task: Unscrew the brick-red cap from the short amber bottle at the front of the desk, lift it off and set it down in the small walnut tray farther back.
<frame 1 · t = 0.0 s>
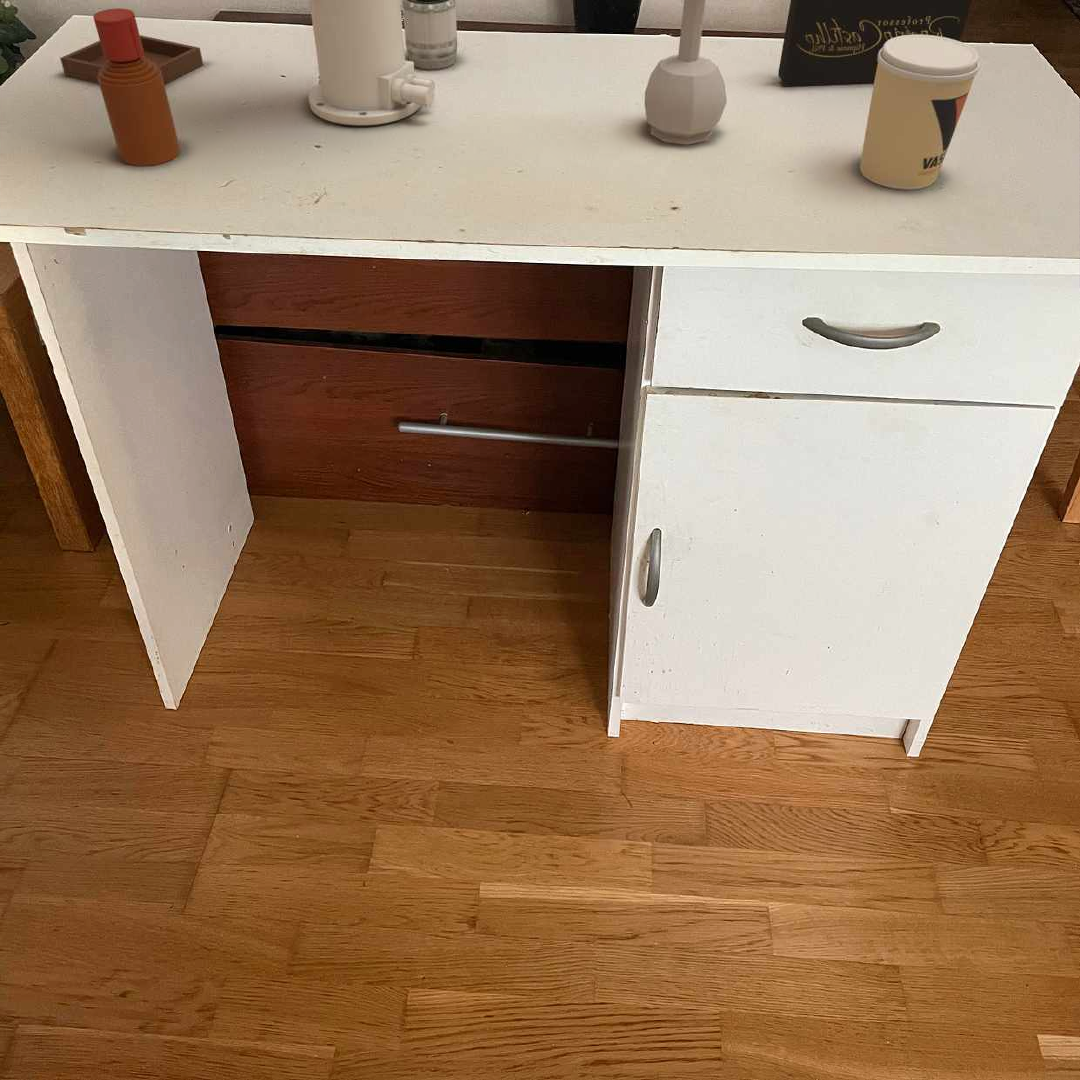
coffee cup: (897, 174, 104), on the table
bottle: (150, 153, 105), on the table
potion bottle: (679, 132, 111), on the table
cap: (114, 18, 96), point 13 cm above the table, screwed on, not yet turned
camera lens: (432, 62, 125), on the table
nameplate: (862, 82, 122), on the table
tray: (135, 70, 121), on the table
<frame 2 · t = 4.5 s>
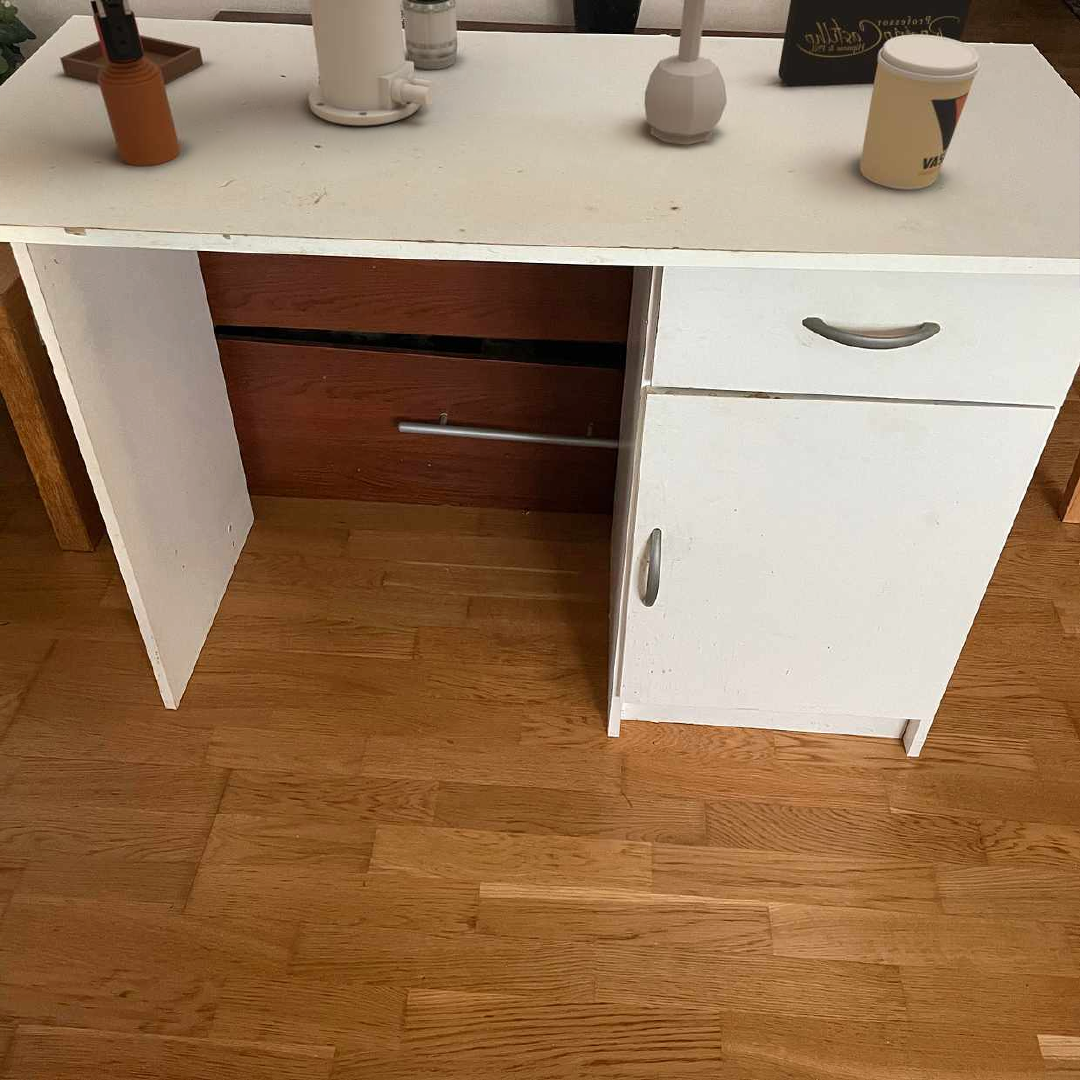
hand: (122, 49, 98), 10 cm above the table, tool pointing down, fingers closed on cap, 3 cm apart
cap: (114, 18, 96), point 13 cm above the table, screwed on, not yet turned, touching gripper
everything else where it was.
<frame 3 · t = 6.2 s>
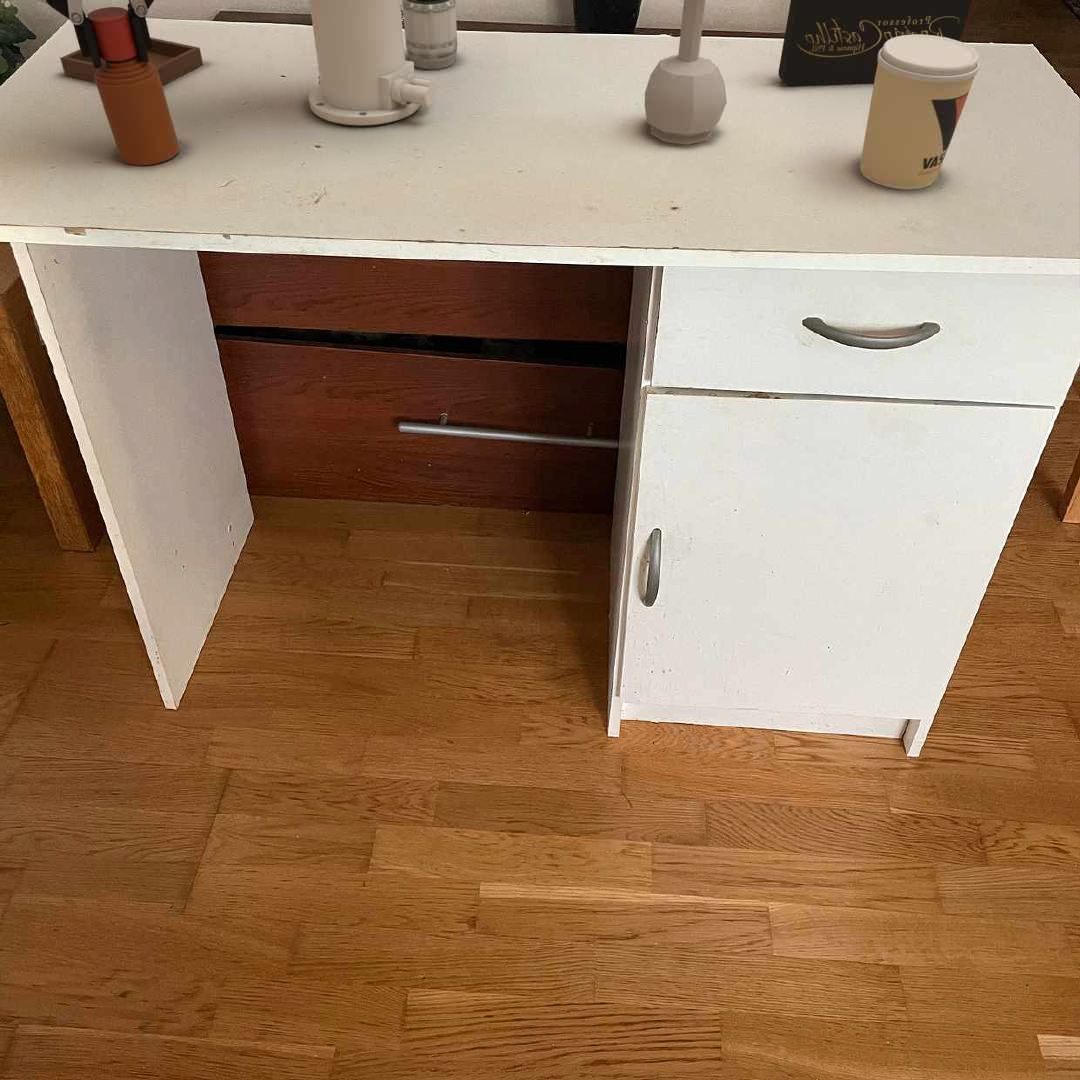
hand: (119, 58, 98), 10 cm above the table, tool pointing down, fingers closed on cap, 3 cm apart
bottle: (150, 152, 105), on the table, touching gripper
cap: (108, 17, 96), point 13 cm above the table, turned 92° so far, risen 0.1 cm, still on its thread, touching gripper
everything else where it was.
when the fingers open (10 cm above the table, at t = 11.9 s): cap stays where it is, point 13 cm above the table.
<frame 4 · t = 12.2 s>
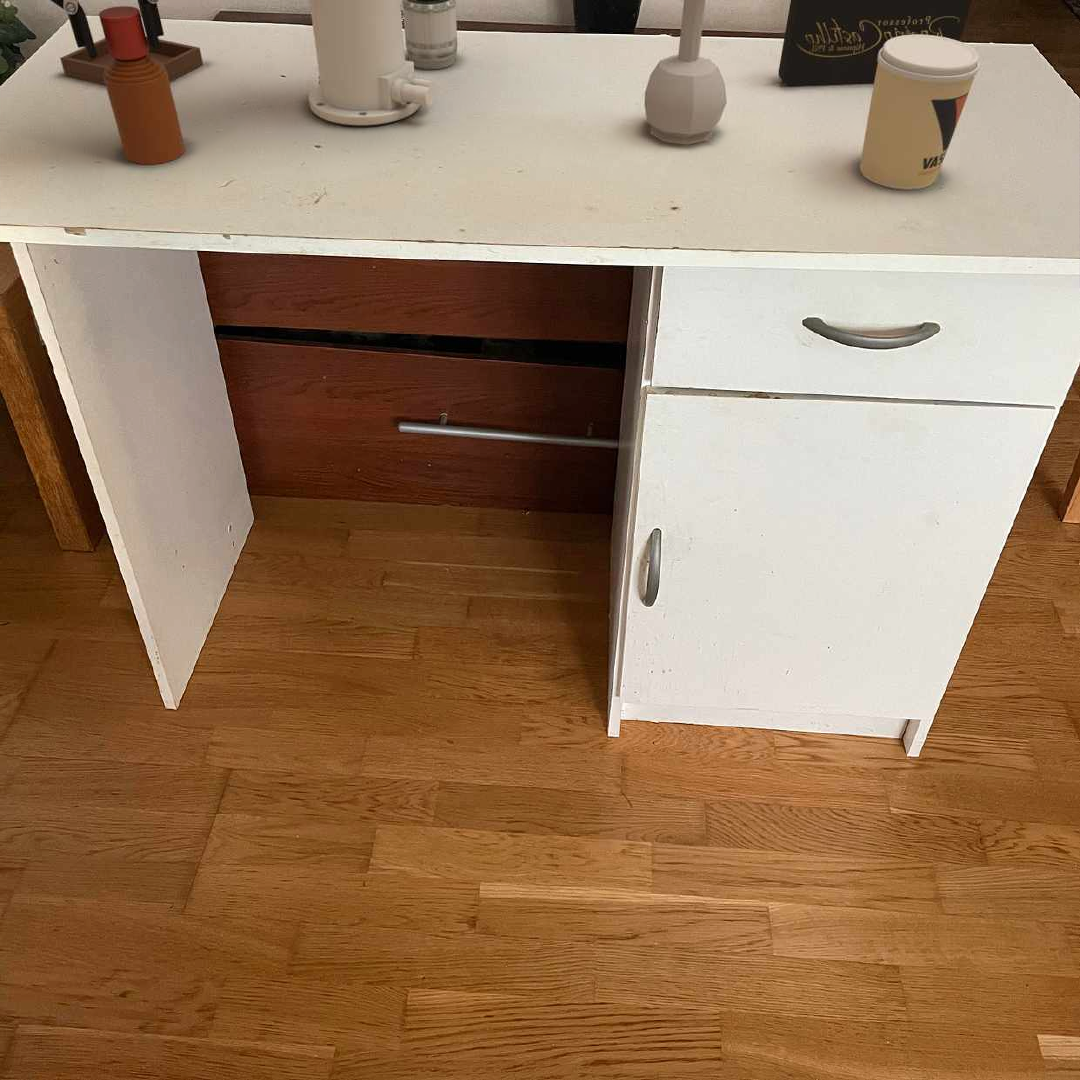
hand: (122, 47, 98), 10 cm above the table, tool pointing down, fingers open, 5 cm apart
bottle: (155, 151, 105), on the table
cap: (120, 15, 96), point 13 cm above the table, turned 92° so far, risen 0.1 cm, still on its thread
everything else where it was.
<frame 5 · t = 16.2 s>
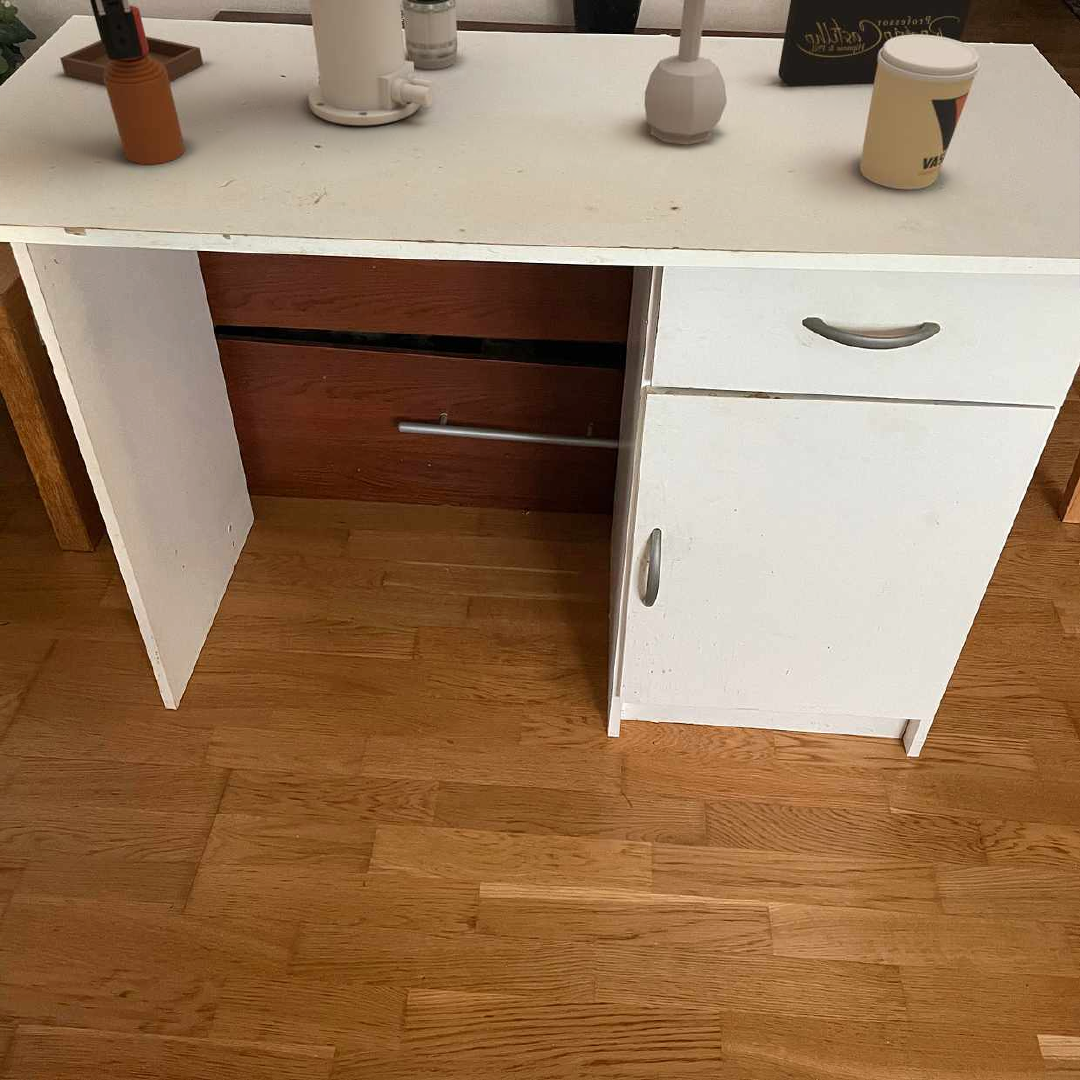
hand: (122, 47, 98), 10 cm above the table, tool pointing down, fingers closed on cap, 3 cm apart
cap: (119, 15, 96), point 13 cm above the table, turned 185° so far, risen 0.2 cm, still on its thread, touching gripper
everything else where it was.
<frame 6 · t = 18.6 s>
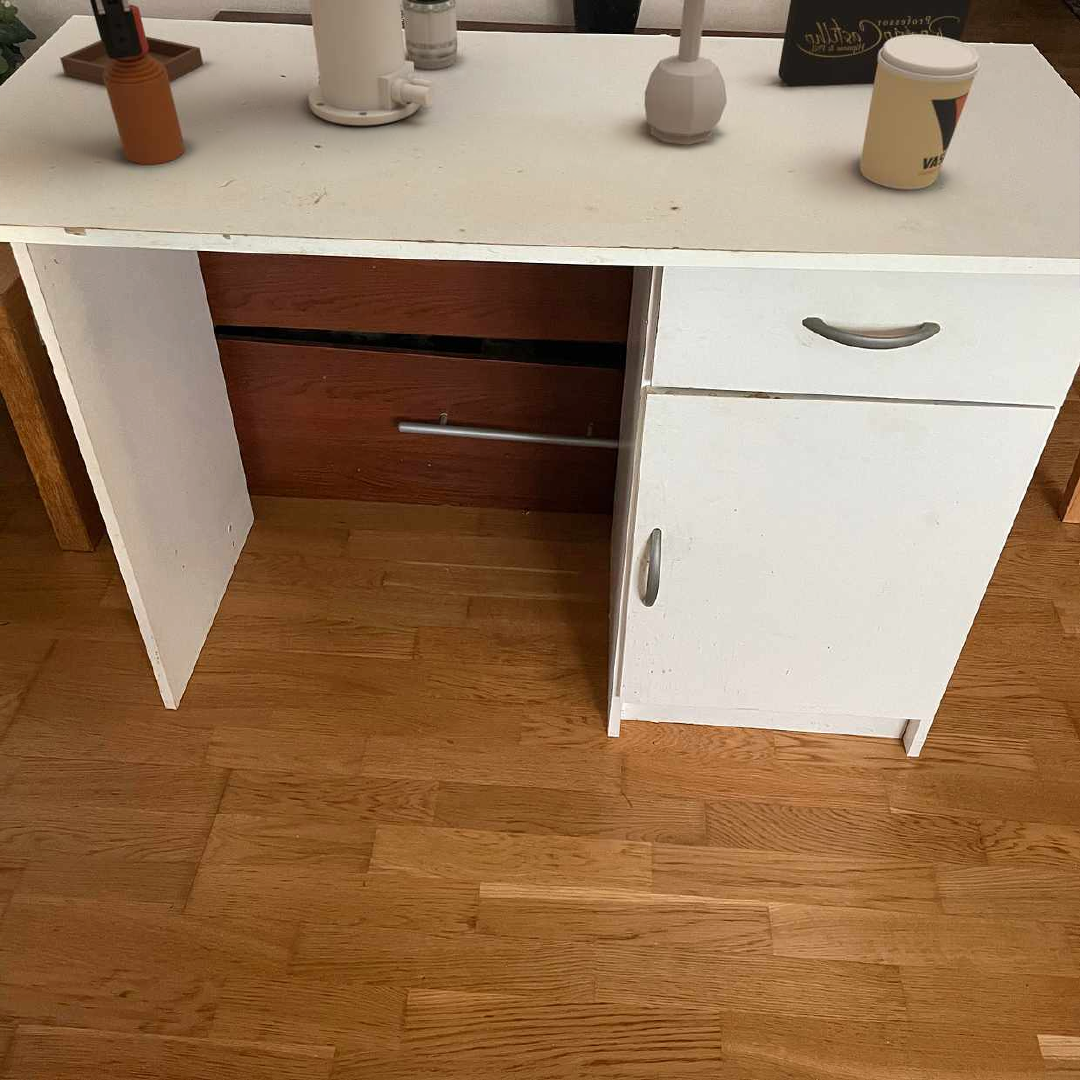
hand: (121, 46, 98), 11 cm above the table, tool pointing down, fingers closed on cap, 3 cm apart
cap: (119, 14, 96), point 13 cm above the table, turned 277° so far, risen 0.3 cm, still on its thread, touching gripper
everything else where it was.
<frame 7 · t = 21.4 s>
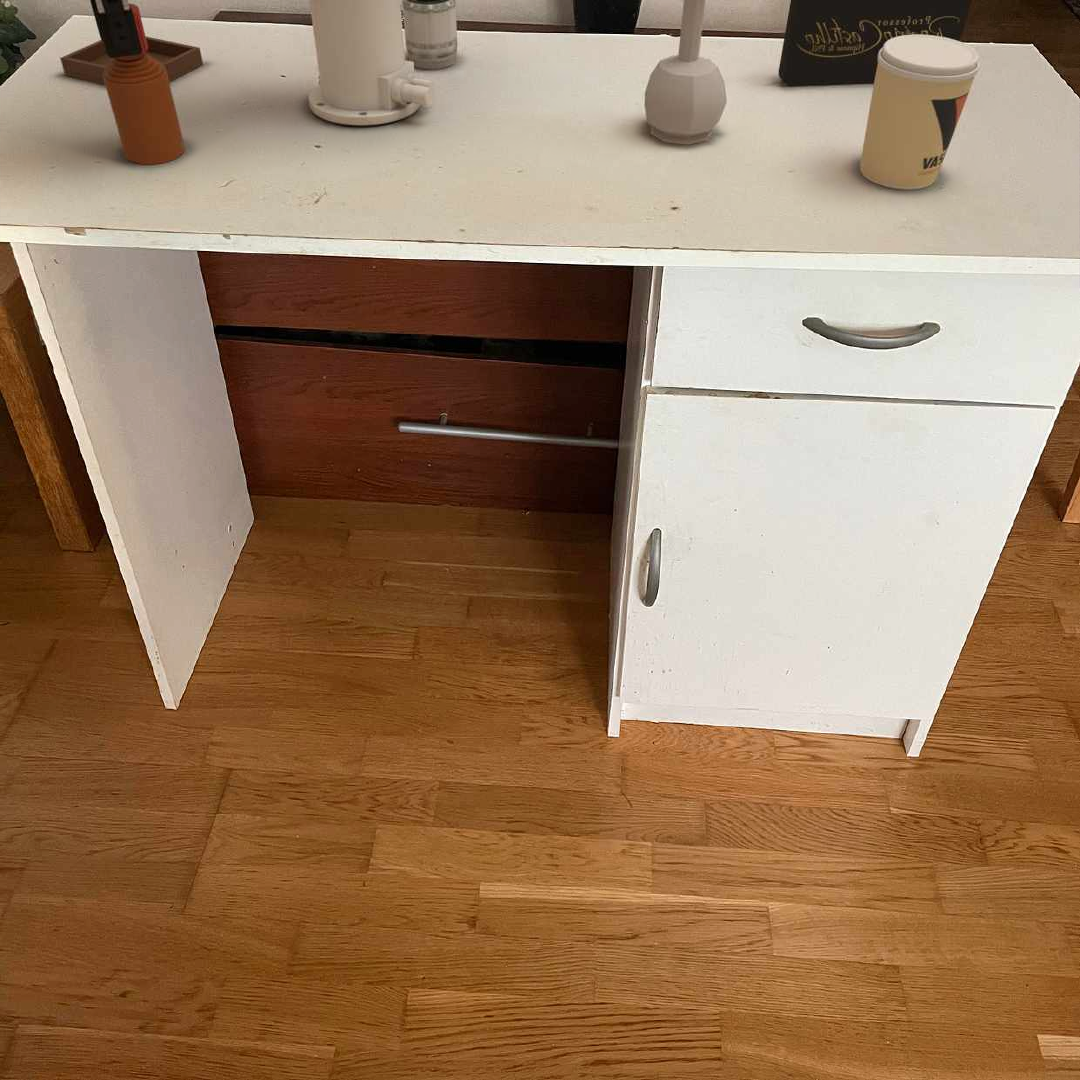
hand: (121, 45, 98), 11 cm above the table, tool pointing down, fingers closed on cap, 3 cm apart
cap: (119, 13, 96), point 13 cm above the table, turned 369° so far, risen 0.4 cm, still on its thread, touching gripper
everything else where it was.
when the fingers open (2 cm above the table, at t = 31.3 s): cap drops 1 cm, resting on tray.
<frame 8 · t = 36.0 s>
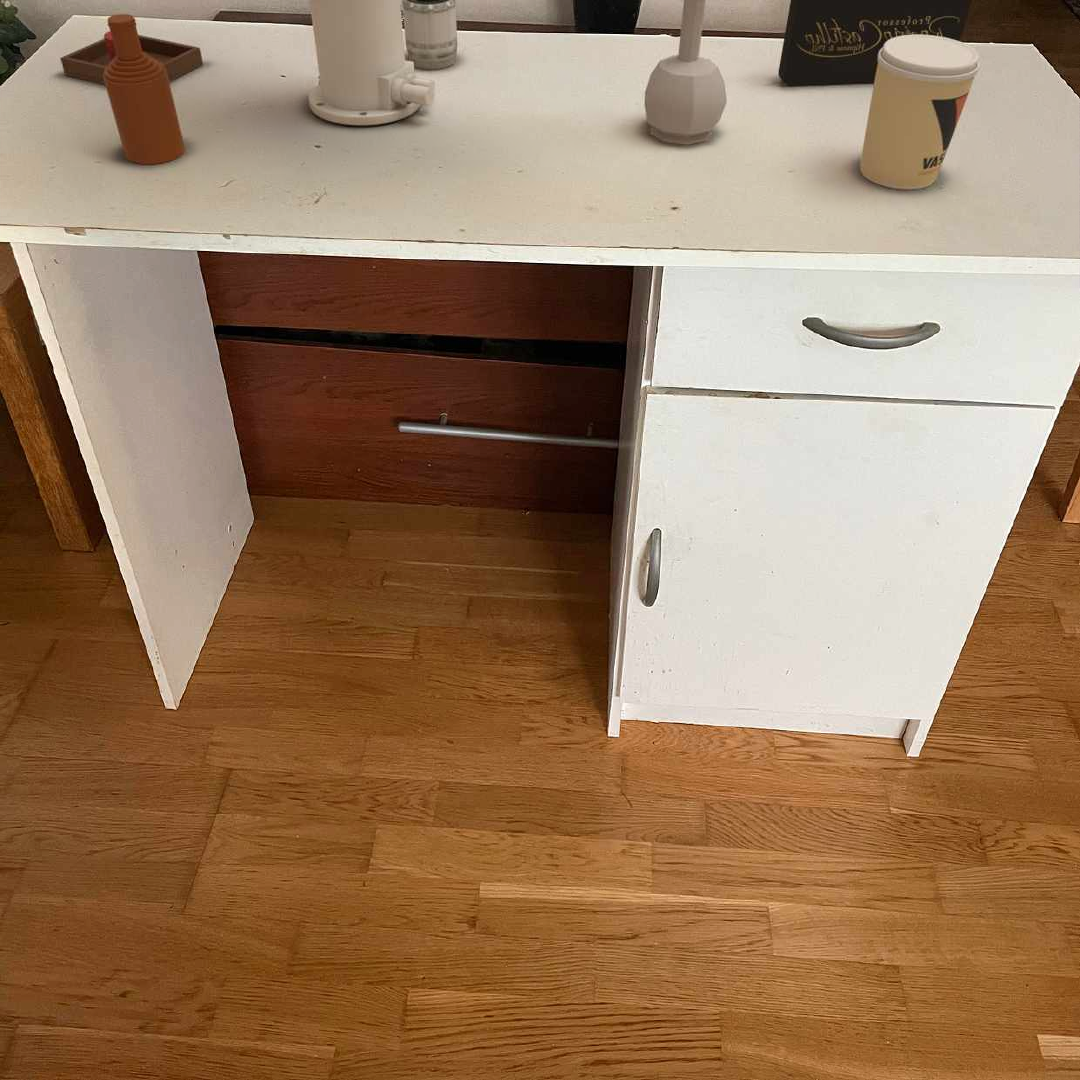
cap: (121, 37, 118), point 4 cm above the table, off its thread, touching tray
everything else where it was.
at the end: cap came off its thread; cap inside the target area on the tray (0.6 cm from its centre), point 3.8 cm above the tray's base; the gripper is holding nothing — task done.
